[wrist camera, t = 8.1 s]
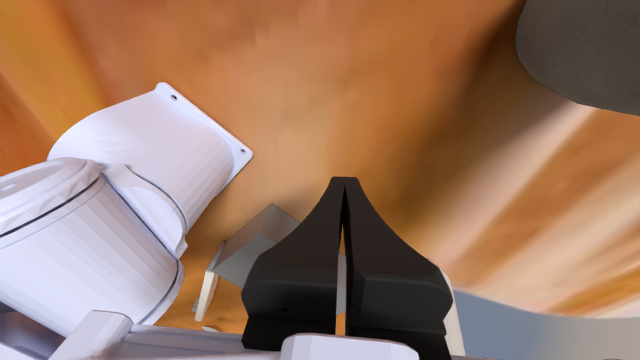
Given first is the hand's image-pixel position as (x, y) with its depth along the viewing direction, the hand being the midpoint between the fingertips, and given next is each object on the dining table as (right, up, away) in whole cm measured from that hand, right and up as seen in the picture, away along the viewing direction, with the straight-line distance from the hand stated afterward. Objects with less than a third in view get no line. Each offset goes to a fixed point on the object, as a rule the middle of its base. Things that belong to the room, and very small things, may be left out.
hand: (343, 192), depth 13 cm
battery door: (-17, -13, +22) cm, 31 cm away
